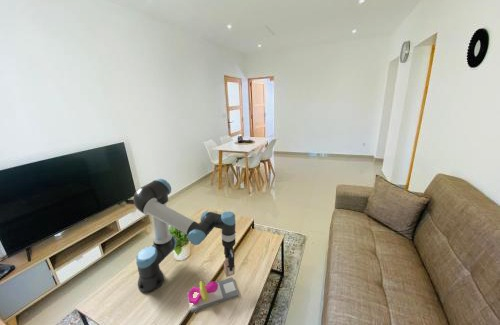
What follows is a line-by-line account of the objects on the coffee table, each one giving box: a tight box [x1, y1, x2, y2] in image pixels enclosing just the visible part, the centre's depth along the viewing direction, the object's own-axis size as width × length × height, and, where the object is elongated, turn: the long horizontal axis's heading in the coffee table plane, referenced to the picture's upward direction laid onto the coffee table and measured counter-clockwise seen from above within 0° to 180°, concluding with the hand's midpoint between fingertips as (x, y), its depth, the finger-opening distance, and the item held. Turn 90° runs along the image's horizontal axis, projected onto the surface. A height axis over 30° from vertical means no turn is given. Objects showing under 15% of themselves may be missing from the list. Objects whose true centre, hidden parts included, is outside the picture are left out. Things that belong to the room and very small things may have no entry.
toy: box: [187, 280, 218, 304], centre depth 123 cm, size 10×18×10 cm
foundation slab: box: [187, 276, 240, 313], centre depth 128 cm, size 28×13×2 cm, turn 112°
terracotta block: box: [223, 260, 236, 278], centre depth 126 cm, size 5×5×7 cm
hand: (229, 270), depth 126 cm, fingers closed on terracotta block, 5 cm apart
